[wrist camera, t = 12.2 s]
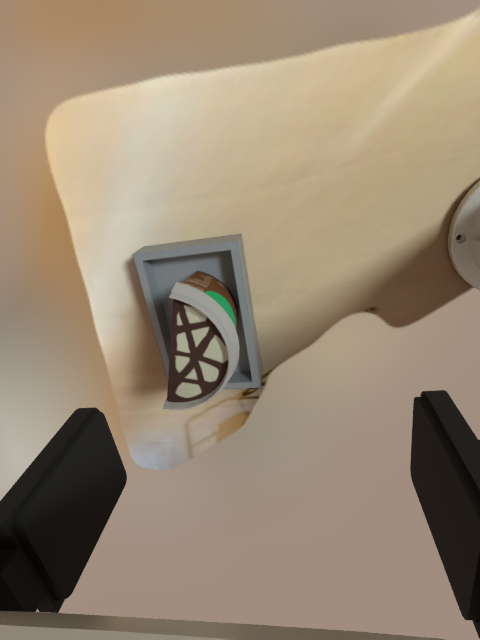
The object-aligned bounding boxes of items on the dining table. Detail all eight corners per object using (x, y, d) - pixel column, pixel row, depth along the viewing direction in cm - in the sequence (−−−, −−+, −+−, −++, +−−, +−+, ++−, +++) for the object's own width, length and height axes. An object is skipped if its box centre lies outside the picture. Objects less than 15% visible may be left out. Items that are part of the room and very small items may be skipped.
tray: (241, 233, 37) (237, 240, 34) (262, 372, 43) (260, 387, 41) (143, 246, 39) (132, 253, 36) (177, 377, 45) (170, 392, 42)
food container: (240, 367, 42) (227, 425, 33) (189, 357, 43) (162, 413, 34) (256, 266, 37) (246, 304, 28) (198, 256, 37) (169, 290, 28)
